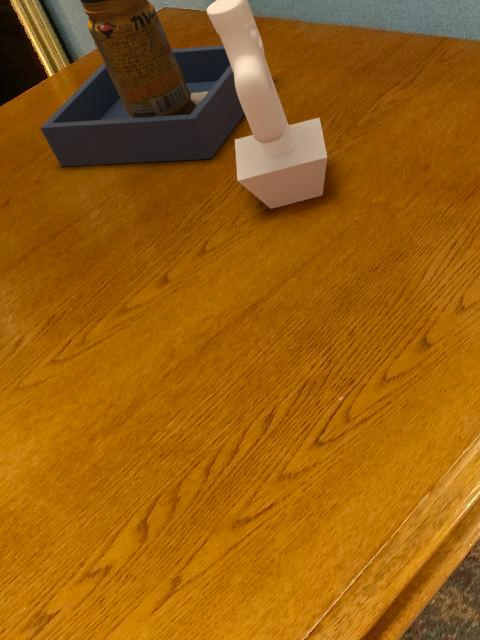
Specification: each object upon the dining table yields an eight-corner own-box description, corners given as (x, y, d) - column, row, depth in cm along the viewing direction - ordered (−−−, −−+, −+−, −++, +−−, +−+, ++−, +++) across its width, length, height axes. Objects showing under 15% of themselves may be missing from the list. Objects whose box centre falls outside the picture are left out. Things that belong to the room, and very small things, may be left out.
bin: (61, 166, 93) (39, 127, 90) (129, 91, 102) (112, 53, 99) (211, 159, 89) (194, 118, 86) (268, 81, 98) (255, 42, 96)
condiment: (145, 100, 98) (85, -32, 89) (225, 91, 96) (172, -44, 87) (117, 137, 93) (51, 2, 84) (201, 129, 92) (142, -9, 83)
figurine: (255, 229, 80) (176, 37, 69) (250, 174, 86) (177, -10, 75) (342, 205, 80) (278, 11, 69) (331, 152, 87) (270, -34, 75)
